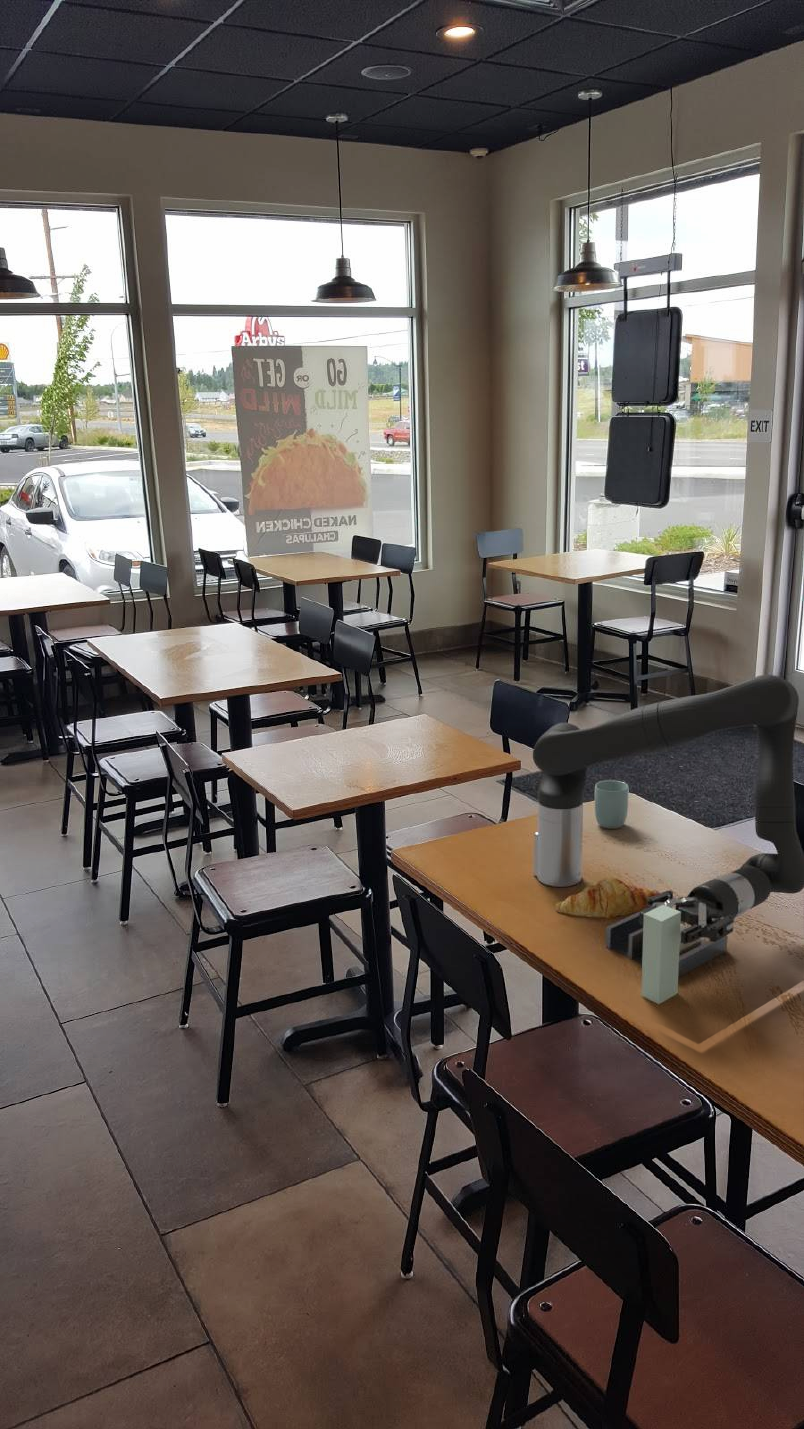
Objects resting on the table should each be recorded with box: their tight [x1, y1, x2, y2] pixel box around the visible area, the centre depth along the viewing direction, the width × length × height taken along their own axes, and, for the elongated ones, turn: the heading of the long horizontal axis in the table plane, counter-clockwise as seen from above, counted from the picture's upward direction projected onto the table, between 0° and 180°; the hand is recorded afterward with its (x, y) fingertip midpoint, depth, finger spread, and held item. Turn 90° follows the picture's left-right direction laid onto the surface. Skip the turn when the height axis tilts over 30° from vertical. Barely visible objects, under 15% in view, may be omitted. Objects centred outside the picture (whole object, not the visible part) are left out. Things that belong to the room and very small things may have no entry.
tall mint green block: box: [640, 905, 681, 1005], centre depth 179 cm, size 4×5×16 cm
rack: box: [605, 908, 728, 978], centre depth 195 cm, size 15×15×6 cm
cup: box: [594, 779, 630, 830], centre depth 253 cm, size 8×8×10 cm
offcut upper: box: [679, 923, 699, 951], centre depth 193 cm, size 5×7×2 cm, turn 128°
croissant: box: [554, 877, 661, 919], centre depth 212 cm, size 21×10×8 cm, turn 100°
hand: (661, 928), depth 177 cm, fingers open, 8 cm apart
